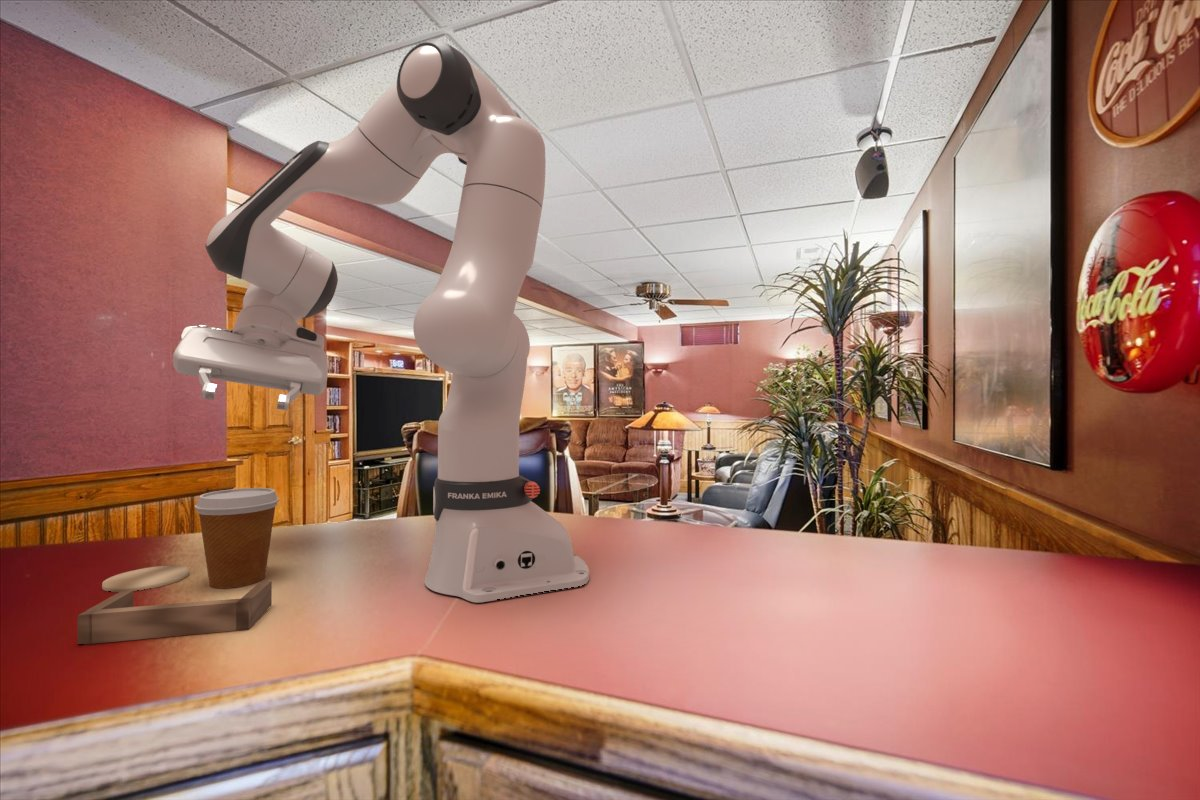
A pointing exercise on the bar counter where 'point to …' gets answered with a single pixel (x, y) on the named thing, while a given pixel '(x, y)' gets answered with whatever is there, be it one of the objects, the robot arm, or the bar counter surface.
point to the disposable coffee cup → (236, 534)
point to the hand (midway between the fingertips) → (246, 402)
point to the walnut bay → (170, 617)
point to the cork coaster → (145, 578)
